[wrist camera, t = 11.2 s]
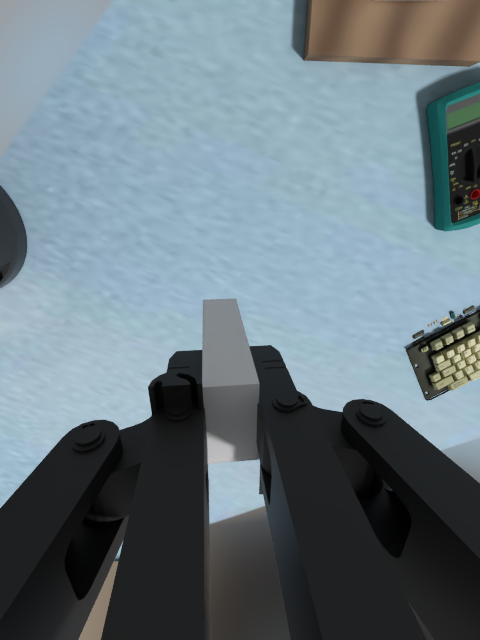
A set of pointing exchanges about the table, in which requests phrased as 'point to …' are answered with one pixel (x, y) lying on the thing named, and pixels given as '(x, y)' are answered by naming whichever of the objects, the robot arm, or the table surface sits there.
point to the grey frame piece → (408, 0)
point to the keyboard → (448, 355)
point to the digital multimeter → (456, 158)
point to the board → (394, 32)
